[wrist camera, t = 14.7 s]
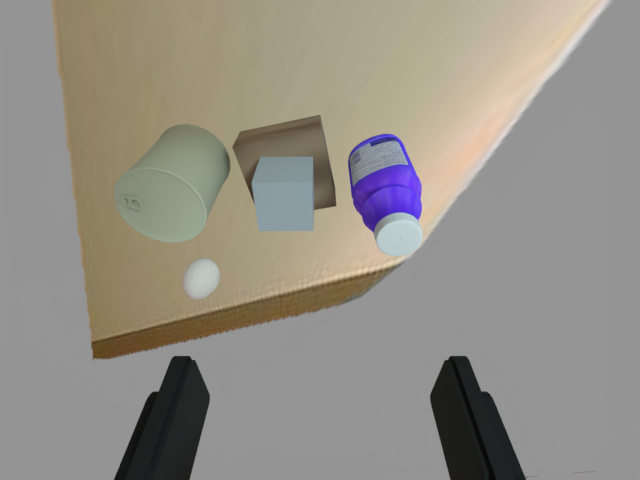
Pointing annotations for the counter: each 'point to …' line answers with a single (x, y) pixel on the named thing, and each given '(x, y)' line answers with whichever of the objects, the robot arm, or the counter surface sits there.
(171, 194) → the can
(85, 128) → the counter surface
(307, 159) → the grey cube
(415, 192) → the bottle
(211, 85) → the counter surface
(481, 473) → the robot arm
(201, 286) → the egg
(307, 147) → the walnut block
